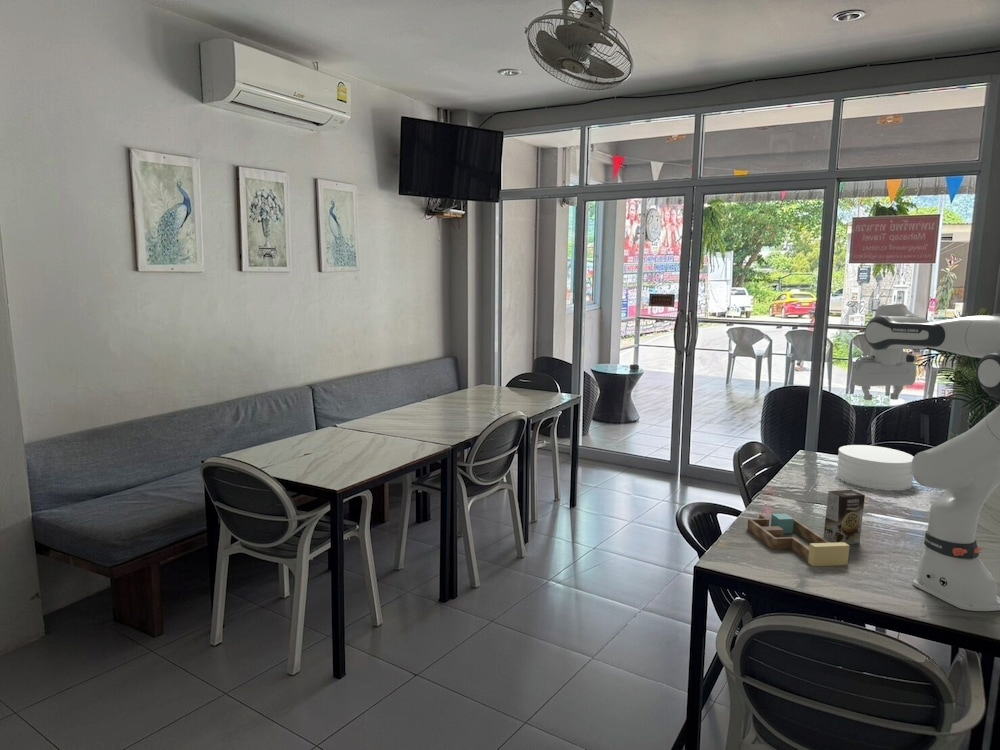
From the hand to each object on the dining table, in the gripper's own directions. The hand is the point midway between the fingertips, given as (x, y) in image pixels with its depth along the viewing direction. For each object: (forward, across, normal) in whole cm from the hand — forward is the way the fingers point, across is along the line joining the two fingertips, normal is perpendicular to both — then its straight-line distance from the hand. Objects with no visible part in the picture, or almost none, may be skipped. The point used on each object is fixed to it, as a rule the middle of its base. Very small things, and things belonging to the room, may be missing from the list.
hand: (880, 399), depth 218 cm
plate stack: (+47, +50, +57) cm, 89 cm away
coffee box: (+46, -8, 0) cm, 47 cm away
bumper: (+46, -25, -15) cm, 54 cm away
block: (+46, -23, +11) cm, 53 cm away
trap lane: (+46, -26, +2) cm, 53 cm away
